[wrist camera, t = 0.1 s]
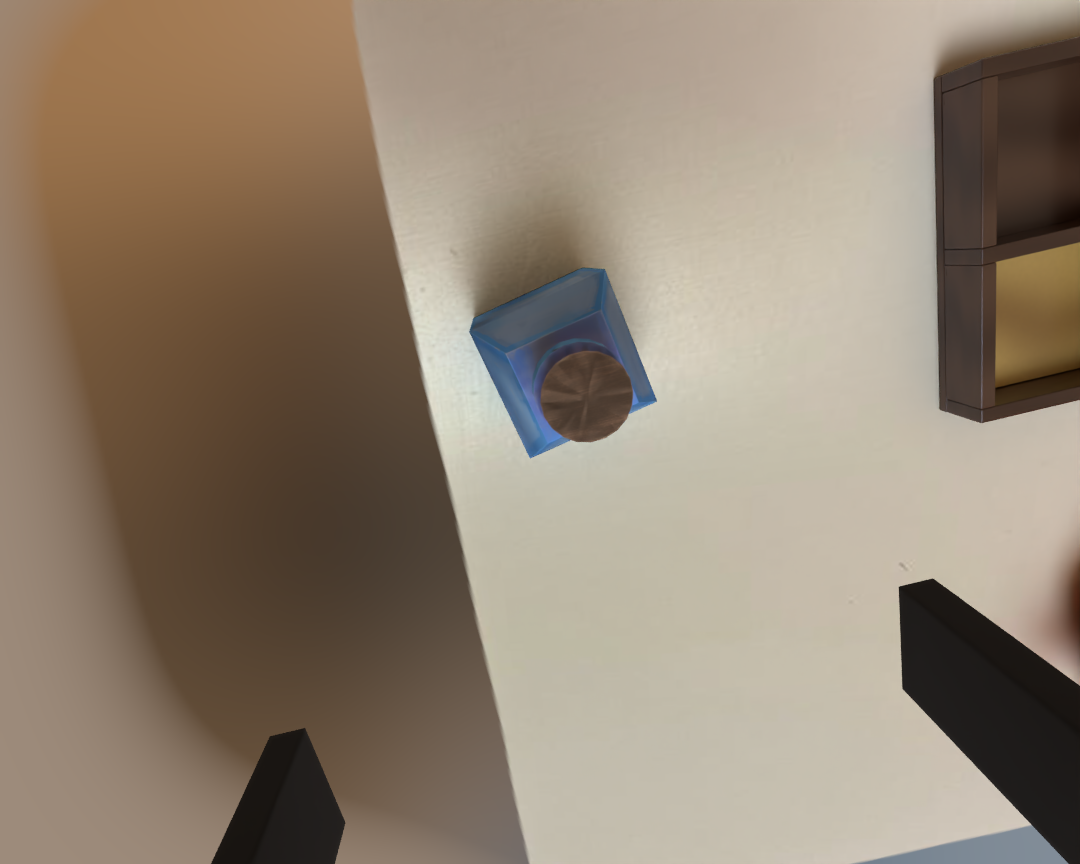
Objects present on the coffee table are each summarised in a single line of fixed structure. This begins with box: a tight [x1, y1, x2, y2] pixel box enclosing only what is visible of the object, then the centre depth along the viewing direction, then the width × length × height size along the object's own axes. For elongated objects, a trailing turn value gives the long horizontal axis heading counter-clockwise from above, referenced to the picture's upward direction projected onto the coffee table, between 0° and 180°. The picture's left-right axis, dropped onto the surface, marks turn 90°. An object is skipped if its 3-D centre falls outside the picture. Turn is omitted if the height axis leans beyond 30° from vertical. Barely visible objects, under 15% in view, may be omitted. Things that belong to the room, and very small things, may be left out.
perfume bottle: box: [469, 268, 657, 458], centre depth 25 cm, size 6×6×12 cm
